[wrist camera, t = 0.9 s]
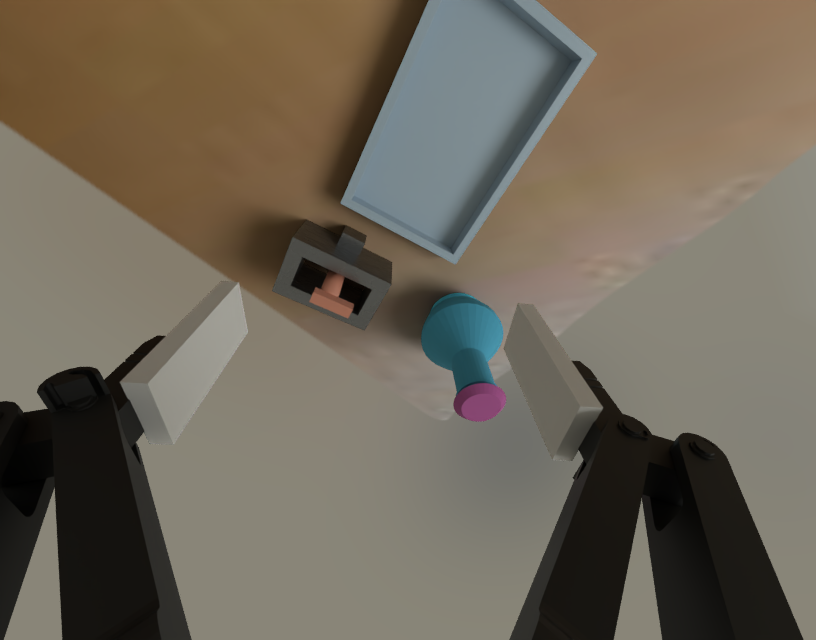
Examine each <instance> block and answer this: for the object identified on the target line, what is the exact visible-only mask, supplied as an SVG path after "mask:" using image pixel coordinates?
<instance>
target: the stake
mask: <svg viewBox="0 0 816 640" xmlns="http://www.w3.org/2000/svg"><path fill="white" fill-rule="evenodd" d="M344 278H345V277H344V276H342V275H340V274H338V273H336V272H333V271H331V270H329V271H328V273H327V275H326V278H325V280H324V283H323V285H322V287H321V289H319V288H317V287H316V288H315V290H314V292H313V294H312V296H311V299H310V301H309V302H311V303H313V304H315V305H318V306H320V307H322V308H325V309H327V310H329V311H332V312H334V313H336V314H339V315H341V316H343V317H346V318H349V316H350V314H351V312H352V310H353V307H354V304H353V303H350V302H348V301H346V300H344V299H341V298H339V294H340V291H341V288H342V284H343V281H344Z"/></svg>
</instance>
